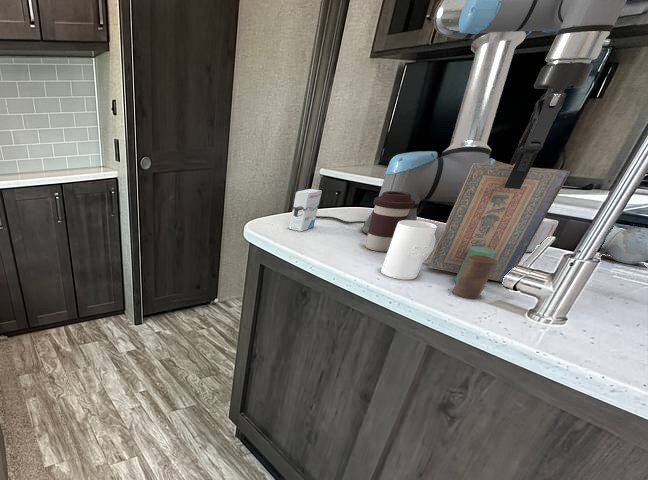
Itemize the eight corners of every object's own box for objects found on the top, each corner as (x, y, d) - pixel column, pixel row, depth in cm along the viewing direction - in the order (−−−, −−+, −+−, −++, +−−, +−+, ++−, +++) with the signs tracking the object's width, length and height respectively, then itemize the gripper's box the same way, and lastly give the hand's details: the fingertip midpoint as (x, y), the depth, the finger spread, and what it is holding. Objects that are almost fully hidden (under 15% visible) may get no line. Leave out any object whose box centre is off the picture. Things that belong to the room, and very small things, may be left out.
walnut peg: (451, 295, 88) (468, 259, 83) (453, 288, 91) (469, 253, 87) (478, 300, 85) (497, 264, 81) (479, 293, 89) (497, 258, 84)
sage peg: (453, 284, 93) (469, 250, 89) (454, 277, 96) (470, 244, 92) (479, 288, 91) (497, 254, 86) (479, 282, 94) (496, 248, 90)
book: (425, 269, 100) (474, 158, 87) (427, 263, 105) (474, 157, 91) (508, 285, 92) (576, 165, 79) (506, 278, 97) (570, 164, 84)
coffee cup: (367, 241, 122) (384, 188, 113) (402, 248, 116) (422, 193, 107) (354, 248, 116) (371, 193, 107) (390, 256, 110) (410, 198, 102)
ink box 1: (301, 224, 138) (309, 188, 132) (314, 227, 135) (323, 190, 129) (287, 228, 134) (295, 191, 127) (301, 231, 131) (309, 193, 124)
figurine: (579, 258, 110) (651, 278, 100) (600, 225, 105) (680, 242, 94) (597, 250, 114) (669, 268, 103) (619, 218, 108) (698, 233, 97)
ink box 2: (492, 248, 116) (526, 247, 117) (507, 253, 112) (543, 252, 113) (506, 217, 111) (542, 217, 113) (523, 221, 107) (560, 220, 109)
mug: (437, 275, 98) (459, 225, 91) (400, 281, 94) (420, 230, 88) (409, 265, 104) (427, 217, 97) (373, 270, 101) (390, 221, 94)
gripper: (608, 57, 66) (536, 194, 78) (584, 66, 82) (528, 178, 95) (550, 59, 69) (490, 190, 81) (538, 67, 86) (490, 175, 98)
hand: (510, 184), depth 88 cm, fingers open, 13 cm apart
